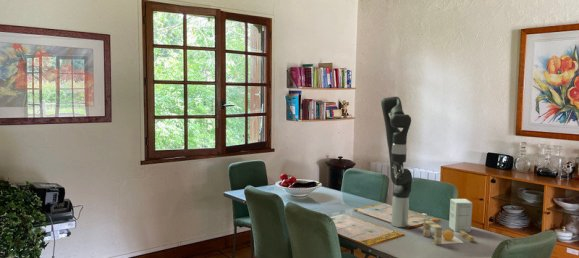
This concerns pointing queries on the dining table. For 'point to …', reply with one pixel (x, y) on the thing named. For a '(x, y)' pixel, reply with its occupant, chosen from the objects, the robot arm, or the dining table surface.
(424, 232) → the bridge
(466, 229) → the supplement box
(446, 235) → the ball
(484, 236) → the dining table surface
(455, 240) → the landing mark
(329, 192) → the dining table surface
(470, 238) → the stopper wall
